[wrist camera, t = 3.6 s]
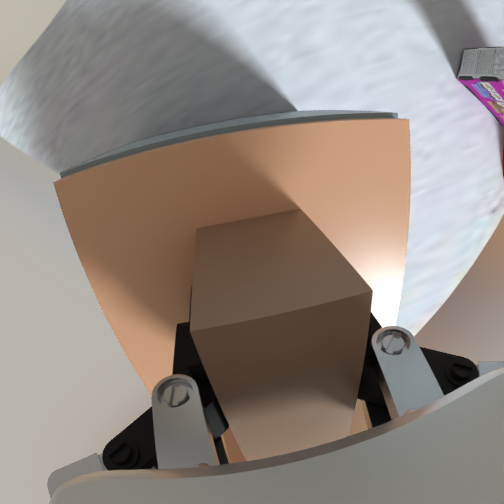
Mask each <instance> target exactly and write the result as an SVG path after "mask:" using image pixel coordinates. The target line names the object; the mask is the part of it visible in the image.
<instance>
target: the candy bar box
mask: <svg viewBox="0 0 504 504" xmlns="http://www.w3.org/2000/svg"><path fill="white" fill-rule="evenodd" d="M457 79H458V80H459V81H460V82H461V83H462V84H463V85H464V86H465V87H466V88H467V89H468V90H469V91H470V92H472V93H473V94H474V95H475V96H476V97H477V98H478V99H479V100H480V101H481V102H482V103H483V104H484V105H485V106H486V108H487V109H488V110H489V111H490V112H491V113H492V114H493V115H494V116H495V117H496V119H497V120H498V121H499V122H500V123H501V124H502V126H503V127H504V47H483V48H470V49H464V50H463V53H462V57H461V64H460V68H459V72H458V76H457Z"/></svg>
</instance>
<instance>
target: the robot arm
mask: <svg viewBox="0 0 504 504" xmlns="http://www.w3.org/2000/svg"><path fill="white" fill-rule="evenodd" d="M191 298H192V287H191V297H190V314H189V322H184V323H178V324H177V327H176V336H175V347H174V359H173V372H172V375H170V376H168V377H165V378H163V379H162V380H160V381H159V382H158V383H157V384H156V385H155V387H154V389H153V391H152V407H151V408H150V409H148V410H147V411H146V412H145V413H143V414H142V415H141V416H140V417H139V418H137V419H136V420H135V421H134V422H133V423H131V424H130V425H129V426H128V427H127V428H126V429H124V430H123V431H122V432H121V433H119V434H118V435H117V436H116V437H114V438H113V439H112V440H111V441H110V442H109V443H108V444H107V445H106V447H105V448H104V450H103V453H102V454H100V455H98V454H97V453H94V454H92V455H90V456H88V457H86V458H84V459H81V460H79V461H77V462H74V463H72V464H70V465H68V466H65V467H63V468H60V469H58V470H56V471H54V472H53V473H52V474H51V475H50V477H49V479H48V483H47V484H48V490H49V494H50V497H51V500H50V503H49V504H504V361H488V362H478V363H477V365H475V364H474V363H473V362H472V361H470V360H469V359H467V358H464V357H460V356H456V355H452V354H447V353H443V352H439V351H435V350H431V349H427V348H422V347H419V345H418V344H417V342H416V340H415V338H414V336H413V335H412V334H411V333H410V332H409V331H408V330H406V329H404V328H402V327H398V326H386V327H383V328H382V326H381V325H380V323H379V322H378V321H377V319H376V318H375V316H374V315H373V314H372V312H371V314H370V323H369V331H368V338H367V345H366V351H365V358H364V364H363V369H362V375H361V380H360V386H359V391H358V395H357V398H358V399H361V405H362V409H363V412H364V416H365V419H366V423H367V427H368V430H366V431H363V432H360V433H357V434H354V435H351V436H348V437H345V438H342V439H339V440H336V441H333V442H329V443H326V444H322V445H319V446H315V447H312V448H308V449H304V450H300V451H296V452H292V453H287V454H283V455H278V456H273V457H268V458H263V459H257V460H251V461H245V462H239V463H232V464H231V462H230V459H229V456H228V452H227V449H226V445H225V442H224V439H223V435H222V434H223V433H224V432H225V431H226V430H227V429H228V427H229V424H228V422H227V419H226V417H225V415H224V413H223V411H222V408H221V406H220V404H219V402H218V399H217V397H216V395H215V392H214V390H213V388H212V385H211V383H210V381H209V378H208V376H207V374H206V371H205V369H204V366H203V364H202V361H201V359H200V356H199V354H198V351H197V349H196V346H195V343H194V341H193V338H192V336H191V333H190V317H191Z"/></svg>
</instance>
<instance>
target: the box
mask: <svg viewBox="0 0 504 504" xmlns="http://www.w3.org/2000/svg"><path fill="white" fill-rule="evenodd" d="M358 118H398V114H397V113H392V112H376V111H350V110H313V111H292V112H283V113H274V114H266V115H259V116H252V117H245V118H239V119H232V120H227V121H221V122H216V123H210V124H205V125H200V126H195V127H191V128H186V129H182V130H177V131H173V132H169V133H165V134H161V135H157V136H153V137H149V138H145V139H142V140H139V141H136V142H133V143H130V144H128V145H125V146H122V147H120V148H117V149H114V150H112V151H109V152H107V153H104V154H102V155H99V156H97V157H94V158H92V159H90V160H87V161H85V162H83V163H81V164H78V165H76V166H74V167H72V168H69V169H67V170H65V171H63V172H61V173H60V175H61V178H63V177H65V176H68V175H71V174H73V173H76V172H79V171H82V170H85V169H88V168H91V167H94V166H97V165H100V164H103V163H106V162H109V161H113V160H116V159H119V158H122V157H126V156H129V155H133V154H136V153H140V152H144V151H147V150H151V149H155V148H159V147H163V146H167V145H171V144H176V143H180V142H184V141H189V140H193V139H198V138H203V137H208V136H213V135H218V134H224V133H229V132H235V131H241V130H247V129H254V128H261V127H268V126H275V125H283V124H292V123H302V122H312V121H324V120H338V119H358Z"/></svg>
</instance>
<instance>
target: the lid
mask: <svg viewBox="0 0 504 504" xmlns="http://www.w3.org/2000/svg"><path fill="white" fill-rule="evenodd" d="M410 184H411V158H410V130H409V119H401V118H358V119H338V120H324V121H312V122H302V123H292V124H283V125H275V126H268V127H261V128H254V129H247V130H241V131H235V132H229V133H224V134H218V135H213V136H208V137H203V138H198V139H193V140H189V141H184V142H180V143H176V144H171V145H167V146H163V147H159V148H155V149H151V150H147V151H144V152H140V153H136V154H133V155H129V156H126V157H122V158H119V159H116V160H113V161H109V162H106V163H103V164H100V165H97V166H94V167H91V168H88V169H85V170H82V171H79V172H76V173H73V174H71V175H68V176H65V177H63V178H61V179H60V180H58V181H56V182H54V186H55V189H56V193H57V196H58V199H59V203H60V206H61V209H62V212H63V215H64V218H65V221H66V224H67V227H68V230H69V232H70V235H71V238H72V240H73V243H74V246H75V248H76V251H77V253H78V256H79V259H80V261H81V263H82V266H83V268H84V270H85V273H86V275H87V277H88V280H89V282H90V284H91V287H92V289H93V291H94V293H95V295H96V298H97V300H98V302H99V304H100V306H101V308H102V310H103V312H104V314H105V316H106V318H107V320H108V322H109V324H110V325H111V328H112V329H113V331H114V333H115V335H116V337H117V339H118V340H119V343H120V344H121V346H122V348H123V350H124V351H125V353H126V355H127V357H128V358H129V360H130V362H131V363H132V365H133V367H134V369H135V370H136V372H137V373H138V375H139V377H140V378H141V380H142V382H143V383H144V385H145V386H146V388H147V389H148V391H149V392H150V394H151V395H152V391H153V389H154V387H155V385H156V384H157V383H158V382H159V381H160V380H162V379H163V378H165V377H168V376H170V375H172V372H173V359H174V347H175V336H176V327H177V324H178V323H184V322H189V314H190V297H191V287H192V298H191V317H190V333H191V336H192V338H193V341H194V343H195V346H196V349H197V351H198V354H199V356H200V359H201V361H202V364H203V366H204V369H205V371H206V374H207V376H208V378H209V381H210V383H211V385H212V388H213V390H214V392H215V395H216V397H217V399H218V402H219V404H220V406H221V408H222V411H223V413H224V415H225V417H226V419H227V422H228V424H229V426H230V428H231V430H232V432H233V434H234V436H235V438H236V441H237V443H238V445H239V446H240V449H241V451H242V453H243V455H244V457H245V459H246V461H251V460H257V459H263V458H268V457H273V456H278V455H283V454H287V453H292V452H296V451H300V450H304V449H308V448H312V447H315V446H319V445H322V444H326V443H329V442H333V441H336V440H339V439H342V438H345V437H348V434H349V430H350V426H351V422H352V418H353V413H354V409H355V405H356V400H357V395H358V391H359V386H360V380H361V375H362V369H363V364H364V358H365V351H366V345H367V338H368V331H369V323H370V314H371V312H372V314H373V315H374V316H375V318H376V319H377V321H378V322H379V323H380V325H381V326H382V328H383V327H386V326H395V325H396V320H397V314H398V309H399V303H400V297H401V290H402V284H403V276H404V269H405V260H406V251H407V240H408V228H409V212H410Z"/></svg>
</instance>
